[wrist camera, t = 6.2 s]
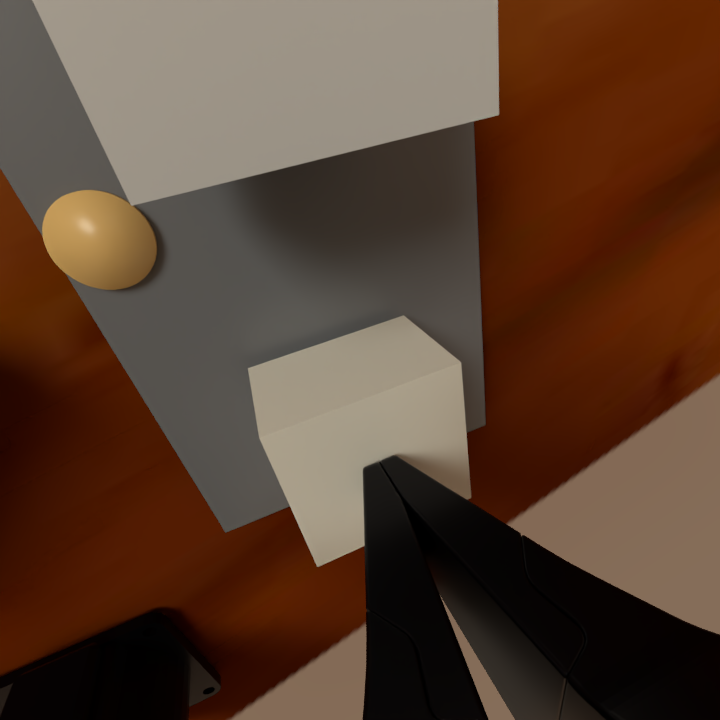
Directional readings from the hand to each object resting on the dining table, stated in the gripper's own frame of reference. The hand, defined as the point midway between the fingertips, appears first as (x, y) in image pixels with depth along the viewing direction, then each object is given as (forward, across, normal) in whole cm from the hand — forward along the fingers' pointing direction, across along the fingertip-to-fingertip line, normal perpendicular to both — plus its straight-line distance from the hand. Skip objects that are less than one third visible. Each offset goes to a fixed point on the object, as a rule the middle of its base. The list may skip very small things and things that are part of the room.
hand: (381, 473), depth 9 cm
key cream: (+3, 0, 0) cm, 3 cm away
